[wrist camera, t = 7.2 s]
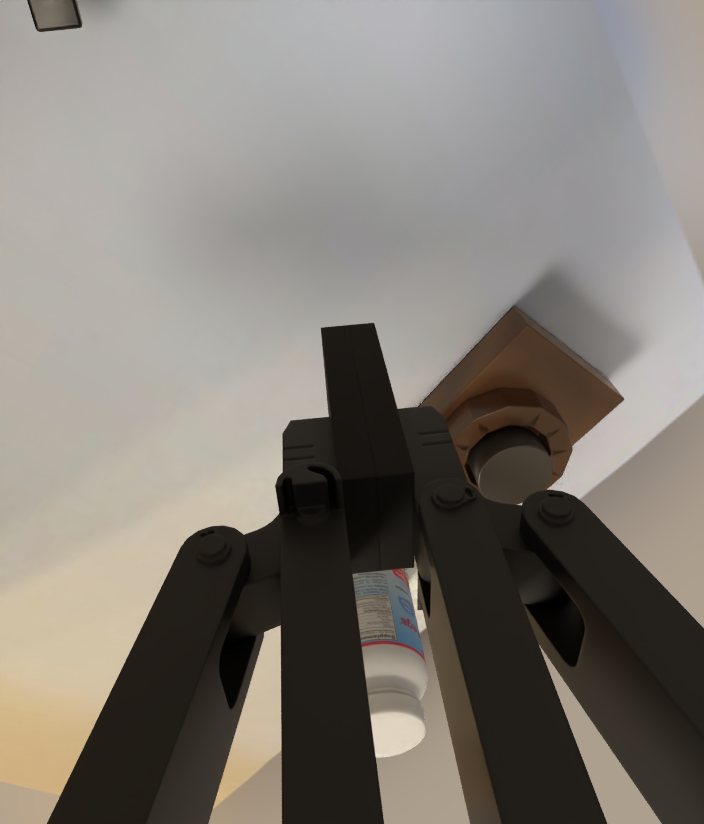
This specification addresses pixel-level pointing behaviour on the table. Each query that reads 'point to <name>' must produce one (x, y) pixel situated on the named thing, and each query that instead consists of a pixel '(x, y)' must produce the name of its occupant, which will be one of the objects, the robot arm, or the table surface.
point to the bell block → (523, 392)
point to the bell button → (510, 465)
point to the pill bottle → (391, 660)
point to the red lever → (55, 14)
